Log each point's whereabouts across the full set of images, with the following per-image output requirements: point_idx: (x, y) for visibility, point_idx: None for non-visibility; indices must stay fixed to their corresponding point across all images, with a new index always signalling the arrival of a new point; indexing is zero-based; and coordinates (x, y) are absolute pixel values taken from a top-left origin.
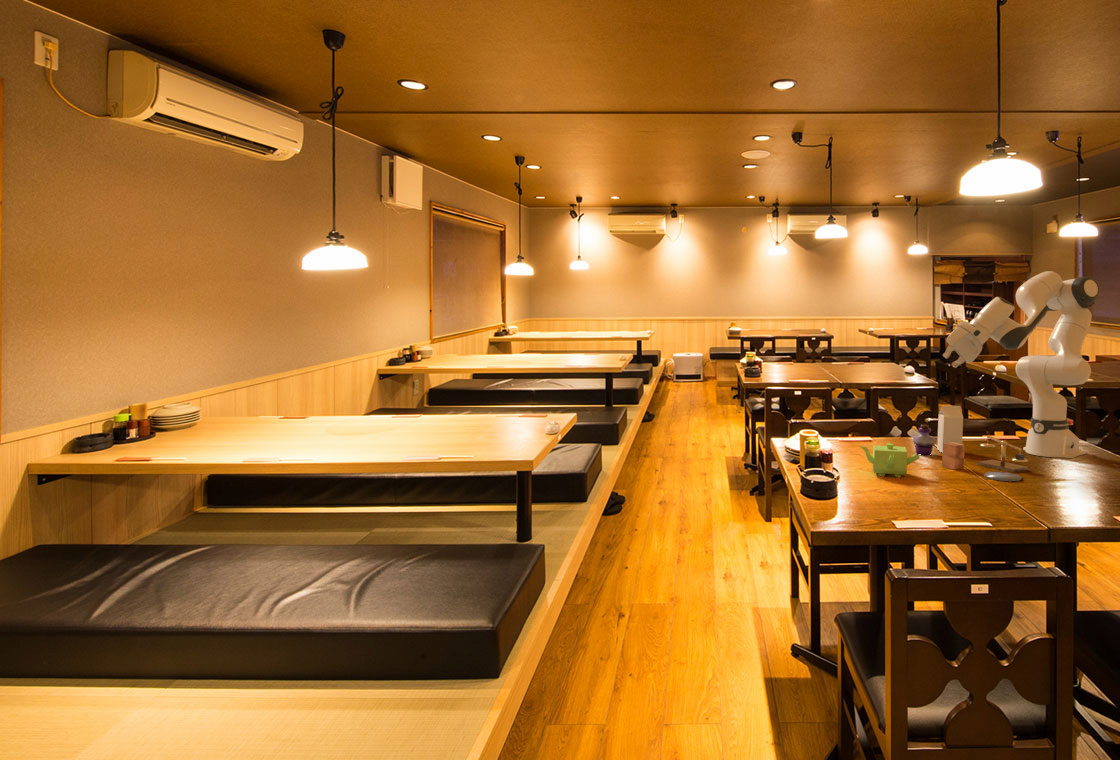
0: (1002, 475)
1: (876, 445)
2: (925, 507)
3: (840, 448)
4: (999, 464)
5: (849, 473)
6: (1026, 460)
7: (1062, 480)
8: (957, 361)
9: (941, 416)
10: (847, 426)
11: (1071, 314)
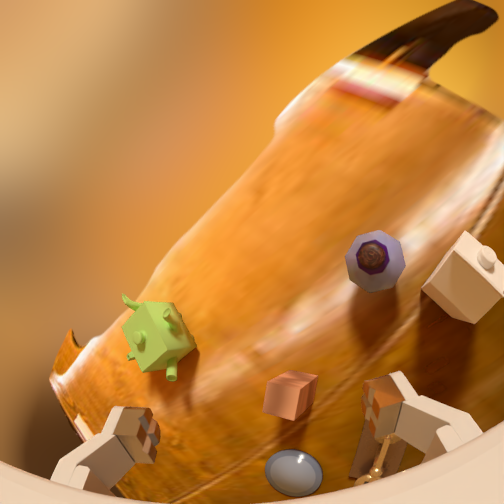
0: (291, 474)
1: (145, 306)
2: None
3: (278, 137)
4: (375, 444)
5: (146, 291)
6: None
7: None
8: (414, 422)
9: (445, 259)
10: (443, 12)
11: None
